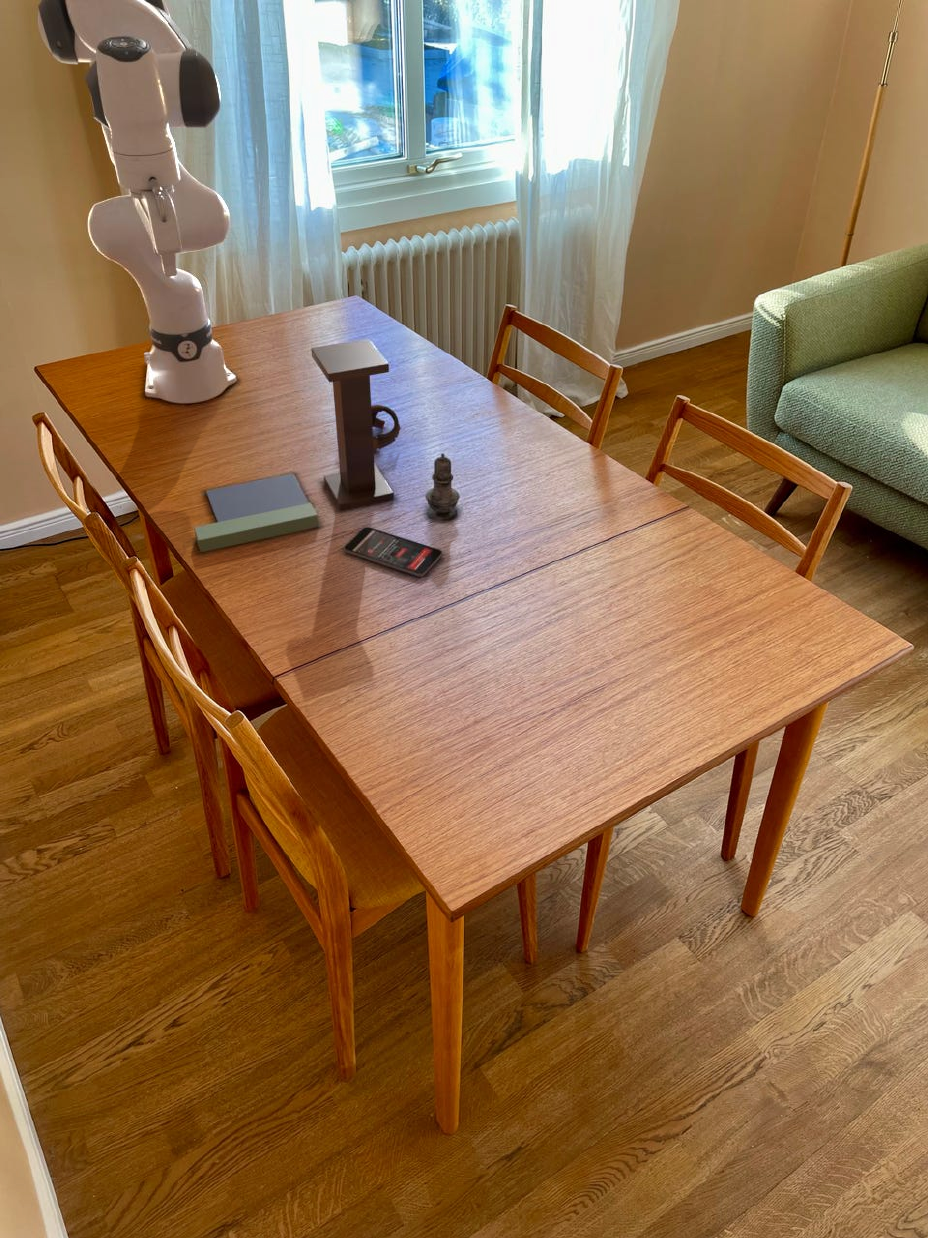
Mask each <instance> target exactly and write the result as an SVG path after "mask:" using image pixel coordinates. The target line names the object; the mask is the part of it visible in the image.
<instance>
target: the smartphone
mask: <svg viewBox="0 0 928 1238" xmlns="http://www.w3.org/2000/svg"><path fill="white" fill-rule="evenodd" d="M343 550H344V552H345V553H347V554H350V555H353V556H355V557H359V558H362V559H365V560H368V561H371V562H374V563H377V564H379V565H384V566H386V567H389V568H392V569H395V570H398V571H400V572H401V571H402V572H405V573H407V574H410V575H413V576H416V577H419V578H420V577H424V576H425V575H426V574H427V573H428V572H429V571H430V570H431V569H432V568H433V566H434V565H435V564H436V563H437V562H438V561H439V559H441V557H442V556H443V551H442V550H441V549H439V548H435V547H432V546H430V545H426V544H423V543H420V542H417V541H414V540H411V539H408V538H404V537H402V536H397V535H395V534H392V533H389V532H386V531H383V530H379V529H377V528H373V527H370V526H365V527H363V528H362V529H361V530H359V532H358V533H357V534H356V535H354V537H353V538H352V539H351V540H350V541H349V542H348V543H347V544H345V546H344V548H343Z"/></svg>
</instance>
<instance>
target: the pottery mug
mask: <svg viewBox="0 0 928 1238" xmlns="http://www.w3.org/2000/svg"><path fill="white" fill-rule="evenodd" d="M371 408H372V427H373V428H377V429H380V430H383V429H384V427H385V424H386V421H385V420H383V419H381V418H379V417H377V416H378V415H379V413H382V412H384V413H386V414H388V415H389V416H390V417H391V418H392V420H393V428H392V429H391V430H389V431H387V432H386V433H376V436H373V446H374V453H376V452H377V451H378V450H382V449H383V448H386V447H388V446H389V445H391V444H393V443H394V442H395V441H396V438H398V437H399V435H400V431H401V429H402V428H401V424H400V421H399V417H398V415H397V413H395V411H394V410H393V409H391V408H390V407H388V406H385V405H381V404H374V405H371Z"/></svg>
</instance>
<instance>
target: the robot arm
mask: <svg viewBox="0 0 928 1238" xmlns="http://www.w3.org/2000/svg"><path fill="white" fill-rule="evenodd" d="M37 8H38V12H37V25H38V26H37V27H38V30H39V34H40V37H41V39H42V41H43V43H44V45H45V46H46V48H47V49H48V50H49V52H50V53H51V54H52V57H53V58H54V59H55V60H57V61H58V62H59V63H62V64H67V65H79V63H92V64H91V66H90V67H89V69H88V70H87V72H86V74H85V75H84V79H85V84H86V85H87V88H88V91H89V96H90V99H91V103H92V104H91V105H92V109H93V115H92V116H93V119H95V120H96V121H97V122H99V123H100V125H101V128H102V132H103V135H104V140H105V143H106V146H107V150H108V153H109V157H110V160H111V162H112V163H113V165H114V168H115V173H116V177H117V183H118V185H119V186H121V187H122V188H125V189H128V191H129V194H128V195H127V194H126V195H118V196H114V197H111V198H108V199H106V200H103V201H100V202H97V203H95V204H94V205H93V206H92V207H91V209H90V211H89V213H88V218H87V231H88V235H89V238H90V241H91V242H92V245H93V246H94V247H95V249H96V250H97V252H99V253H100V254H101V255H102V256H104V257H105V258H107V260H110V261H112V262H114V263H116V264H118V265H120V267H121V268H123V269H124V270H125V271H127V272H128V274H129V275H130V276H131V277H132V278H133V279H134V281H135V282H136V283H137V285H138V287H139V289H140V291H141V294H142V297H143V299H144V303H145V307H146V311H147V314H148V319H149V326H148V328H149V337H150V339H151V340H150V341H151V344H152V345H151V347H150V351H149V352H144V353H143V356H144V362H145V364H146V365H147V367H146V377H145V386H144V395H145V396H146V397H147V398H154V399H161V400H162V401H166V402H169V403H175V404H195V403H201V402H205V401H208V400H211V399H214V398H215V397H217V396H219V395H221V394H222V393H223V392H224V391H225V390H226V389H227V388H228V387H230V386H231V385H233V384H236V382H237V377H236V375H235V374H234V373H233V372H231V370H230V369H229V368H227V367H226V362H225V356H224V352H223V348H222V346H221V345H220V344H219V343H218V342H217V341H215V340H214V339H213V329H212V325H211V321H210V319H209V317H208V316H207V309H206V304H205V298H204V292H203V287H202V285H201V283H200V281H199V280H198V279H197V277H195V276H194V275H192V274H191V273H190V272H187V271H186V270H183V269H180V268H177V265H176V264H177V263H176V260H177V259H176V257H177V256H176V255H178V254H185V253H191V252H199V251H204V250H207V249H209V248H212V247H216V246H218V245H220V244H222V243H224V242H225V241H226V240H227V237H228V235H229V233H230V229H231V217H230V216H231V215H230V211H229V208H228V206H227V204H226V203H225V200H224V199H223V198H222V197H221V195H220V194H218V193H217V192H216V191H215V190H213V189H212V188H210V187H208V186H206V185H204V184H203V183H201V182H200V181H198V180H197V179H196V178H195V177H193V176H192V175H191V174H190V172H188V171H187V169H186V168H185V166H184V165H182V163H181V161H180V160H179V158H178V157H177V149H176V145H175V141H174V138H173V136H172V134H171V130H170V129H172V128H173V129H174V128H184V127H185V128H190V129H192V128H193V129H194V128H199V129H201V128H202V129H206V128H207V127H208V126H209V125H211V123H212V122H213V121H214V119H215V118H216V117H217V116H218V114H219V112H220V110H221V89H220V84H219V81H218V77H217V75H216V72H215V70H214V68H213V66H212V64H211V63H210V61H209V60H208V58H206V57H205V56H204V55H203V54H202V53H200V52H199V51H198V50H197V49H195V48H194V47H193V45H192V44H191V42H190V41H189V40H188V38H187V37H186V36H185V35H184V33H183V32H182V31H181V29H180V27H178V25H177V24H176V23H175V22H174V20H173V18H171V13H170V10H169V8H168V4H167V3H166V1H165V0H40V2H39V3H38V5H37Z"/></svg>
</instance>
